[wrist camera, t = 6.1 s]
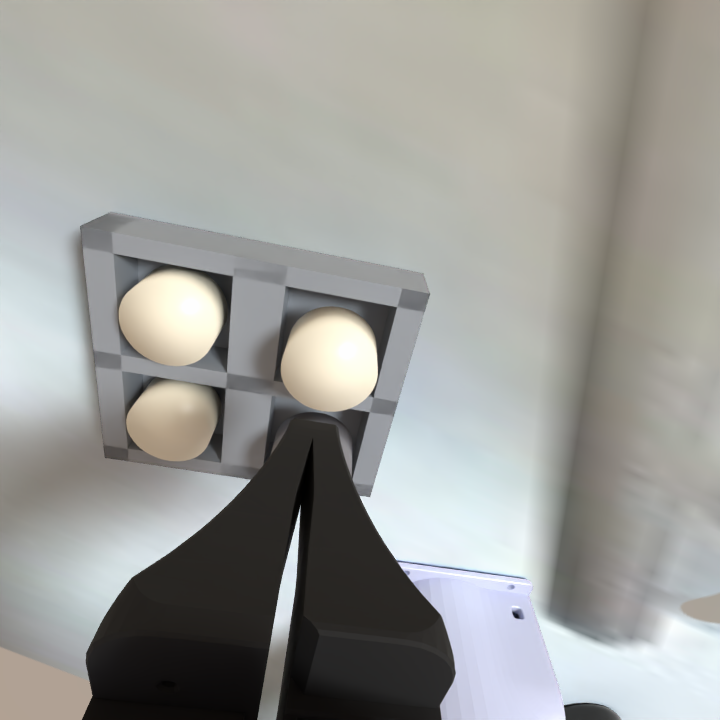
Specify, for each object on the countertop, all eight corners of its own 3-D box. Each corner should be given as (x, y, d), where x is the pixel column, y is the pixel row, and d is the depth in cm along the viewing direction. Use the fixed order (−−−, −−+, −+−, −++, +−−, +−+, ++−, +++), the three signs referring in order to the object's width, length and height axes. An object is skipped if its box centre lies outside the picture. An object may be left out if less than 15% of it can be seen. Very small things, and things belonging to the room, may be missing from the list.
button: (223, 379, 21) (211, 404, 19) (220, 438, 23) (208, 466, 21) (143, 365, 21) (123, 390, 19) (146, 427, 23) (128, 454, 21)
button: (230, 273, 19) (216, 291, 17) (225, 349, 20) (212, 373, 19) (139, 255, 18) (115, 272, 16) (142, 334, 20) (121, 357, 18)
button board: (423, 273, 20) (430, 293, 18) (369, 465, 25) (369, 496, 23) (110, 211, 18) (80, 226, 16) (126, 427, 24) (105, 457, 22)
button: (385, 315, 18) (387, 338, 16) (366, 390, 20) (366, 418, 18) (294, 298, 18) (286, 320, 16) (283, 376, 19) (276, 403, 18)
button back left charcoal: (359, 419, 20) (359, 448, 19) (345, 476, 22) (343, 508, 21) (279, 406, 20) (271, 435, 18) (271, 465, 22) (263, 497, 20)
